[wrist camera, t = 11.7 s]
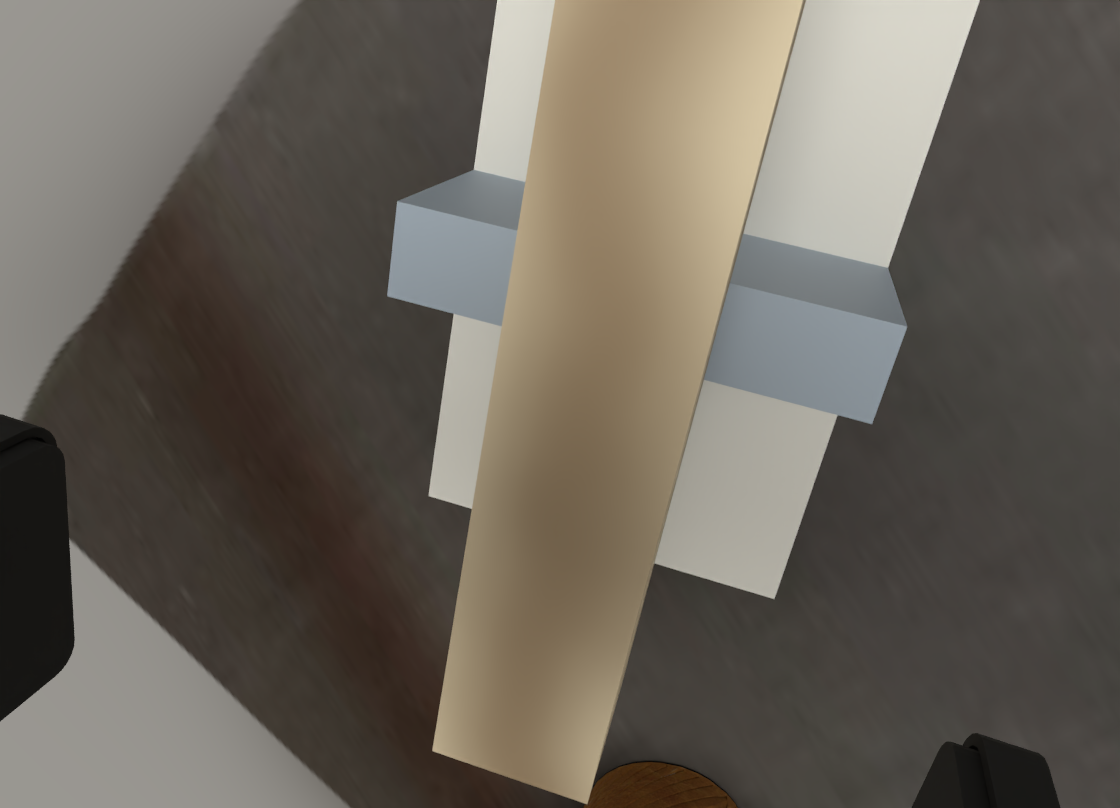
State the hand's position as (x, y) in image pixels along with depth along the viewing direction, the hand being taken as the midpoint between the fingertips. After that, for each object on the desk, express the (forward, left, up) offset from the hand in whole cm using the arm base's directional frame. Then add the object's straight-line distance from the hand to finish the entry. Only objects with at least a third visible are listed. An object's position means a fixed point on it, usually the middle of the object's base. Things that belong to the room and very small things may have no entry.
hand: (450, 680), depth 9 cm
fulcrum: (+1, 0, -20) cm, 20 cm away
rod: (0, 0, -13) cm, 13 cm away
